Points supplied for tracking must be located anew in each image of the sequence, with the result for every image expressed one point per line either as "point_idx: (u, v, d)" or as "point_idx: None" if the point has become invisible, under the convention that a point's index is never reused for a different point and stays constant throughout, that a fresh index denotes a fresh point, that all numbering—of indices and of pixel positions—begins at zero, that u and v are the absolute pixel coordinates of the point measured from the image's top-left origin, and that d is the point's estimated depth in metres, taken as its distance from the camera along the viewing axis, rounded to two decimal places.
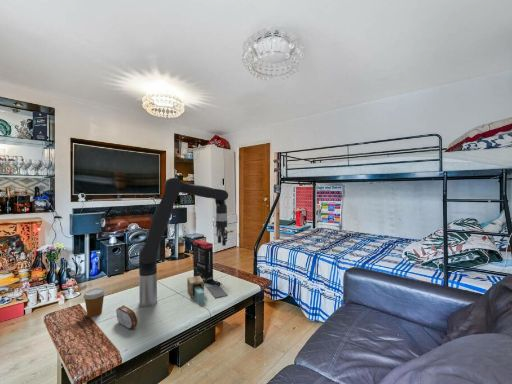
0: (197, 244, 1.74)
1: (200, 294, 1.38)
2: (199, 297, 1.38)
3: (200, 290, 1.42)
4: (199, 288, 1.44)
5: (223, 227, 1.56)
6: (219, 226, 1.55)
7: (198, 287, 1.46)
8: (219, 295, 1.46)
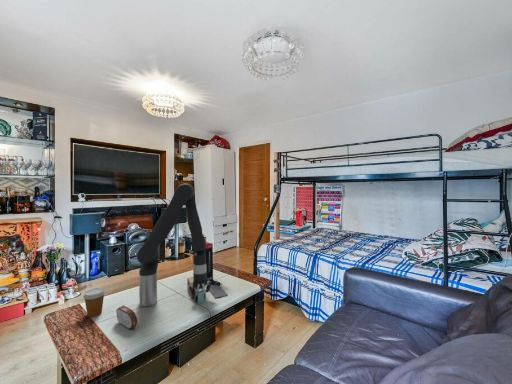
0: None
1: (200, 294, 1.38)
2: (199, 297, 1.38)
3: (200, 290, 1.42)
4: None
5: None
6: (205, 278, 1.39)
7: None
8: (219, 295, 1.46)
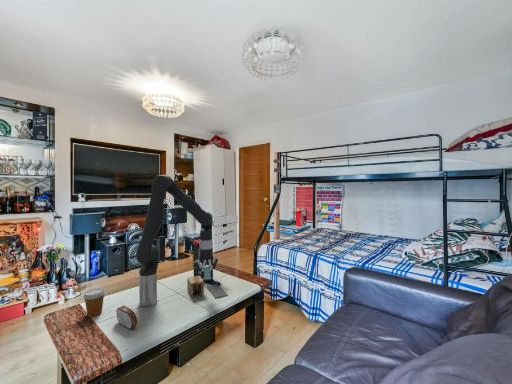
0: (197, 244, 1.74)
1: (206, 270, 1.35)
2: (205, 273, 1.35)
3: (206, 266, 1.39)
4: (205, 265, 1.42)
5: None
6: (212, 254, 1.37)
7: None
8: (219, 295, 1.46)
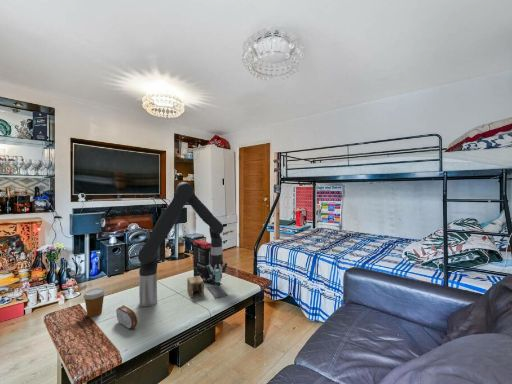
0: (197, 244, 1.74)
1: (217, 273, 1.51)
2: (216, 276, 1.51)
3: (217, 270, 1.54)
4: (216, 269, 1.57)
5: None
6: (222, 259, 1.52)
7: None
8: (219, 295, 1.46)
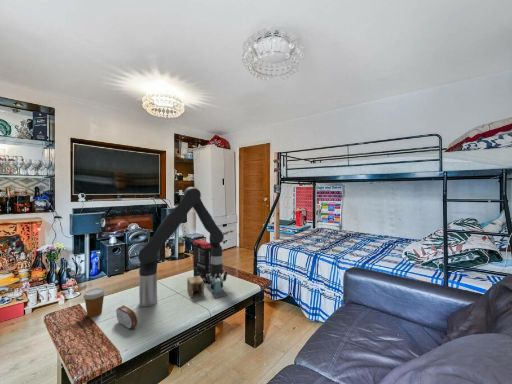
0: (197, 244, 1.74)
1: (217, 284, 1.51)
2: (216, 286, 1.51)
3: (217, 280, 1.55)
4: None
5: None
6: (222, 268, 1.52)
7: None
8: (219, 295, 1.46)
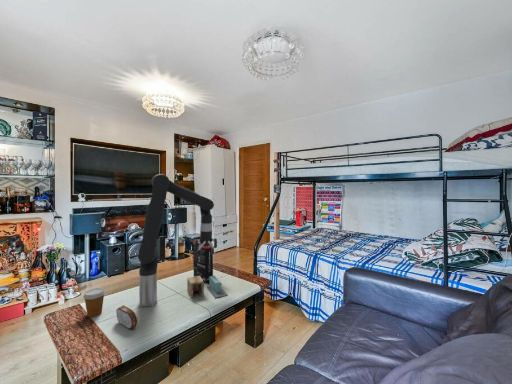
0: (197, 244, 1.74)
1: (217, 284, 1.51)
2: (216, 286, 1.51)
3: (217, 280, 1.55)
4: (215, 278, 1.57)
5: None
6: (211, 236, 1.53)
7: (215, 278, 1.59)
8: (219, 295, 1.46)
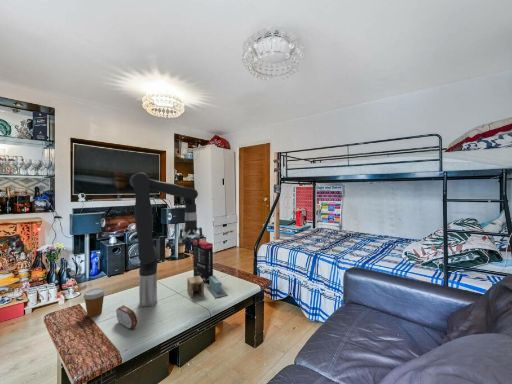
0: (197, 244, 1.74)
1: (217, 284, 1.51)
2: (216, 286, 1.51)
3: (217, 280, 1.55)
4: (215, 278, 1.57)
5: None
6: (196, 225, 1.54)
7: (215, 278, 1.59)
8: (219, 295, 1.46)
